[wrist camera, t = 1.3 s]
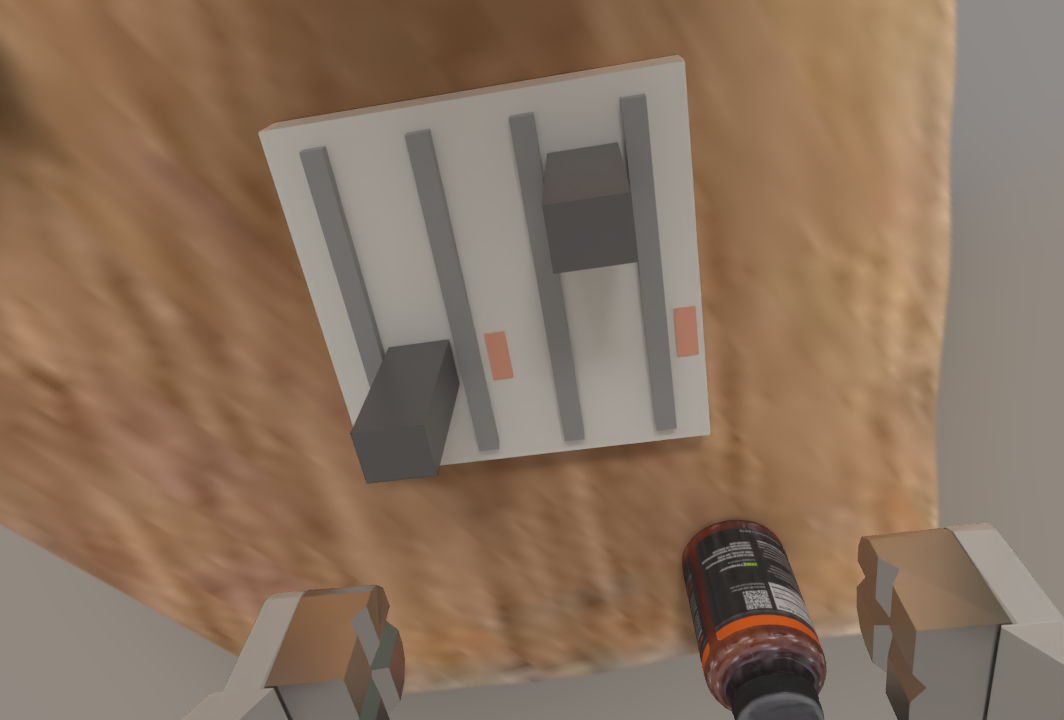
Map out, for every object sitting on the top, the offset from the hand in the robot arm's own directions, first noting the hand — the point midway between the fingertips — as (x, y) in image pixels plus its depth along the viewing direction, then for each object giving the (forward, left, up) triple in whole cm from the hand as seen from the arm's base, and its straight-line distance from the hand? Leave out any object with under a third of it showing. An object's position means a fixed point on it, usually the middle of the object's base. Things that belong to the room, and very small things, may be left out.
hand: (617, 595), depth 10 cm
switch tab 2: (+1, 0, -25) cm, 25 cm away
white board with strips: (+6, -4, -27) cm, 28 cm away
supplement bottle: (+25, +6, -28) cm, 38 cm away
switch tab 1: (+9, -9, -25) cm, 28 cm away
